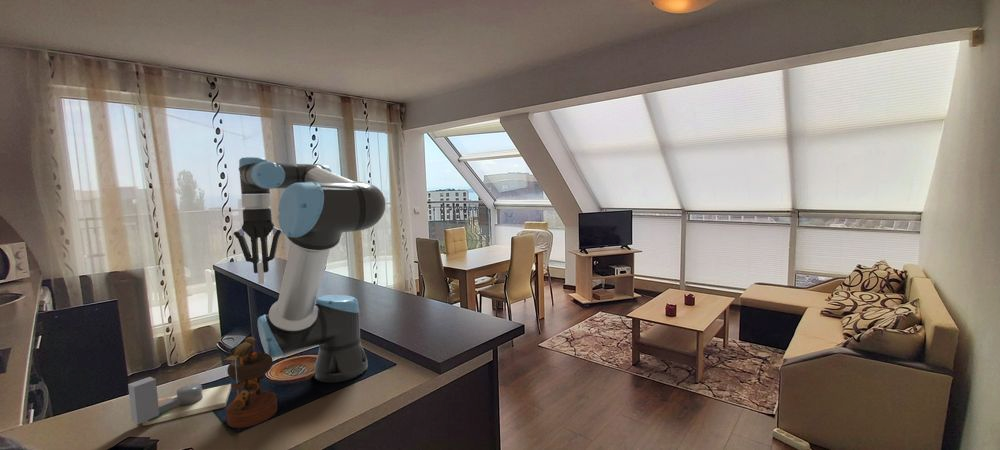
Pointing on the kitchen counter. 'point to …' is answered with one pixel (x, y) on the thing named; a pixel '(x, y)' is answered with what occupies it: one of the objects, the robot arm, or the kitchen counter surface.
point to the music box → (249, 386)
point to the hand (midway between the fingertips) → (262, 282)
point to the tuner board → (194, 404)
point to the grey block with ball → (147, 399)
